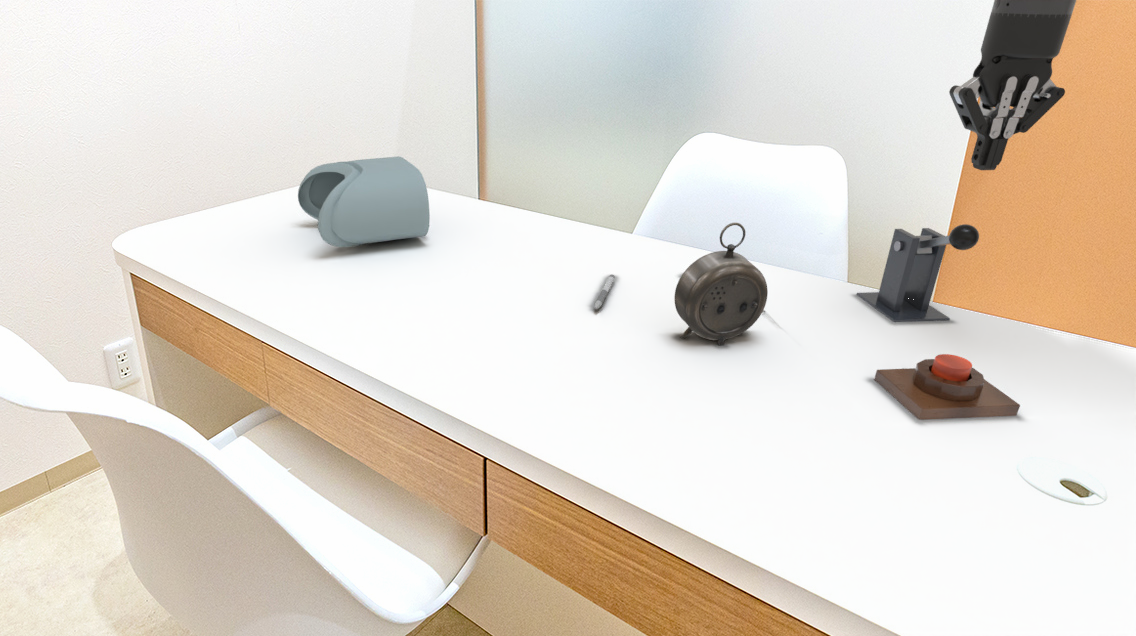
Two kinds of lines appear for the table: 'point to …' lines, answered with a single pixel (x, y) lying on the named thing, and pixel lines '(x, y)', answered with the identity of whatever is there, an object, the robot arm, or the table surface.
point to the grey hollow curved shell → (366, 201)
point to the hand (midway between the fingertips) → (983, 168)
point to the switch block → (945, 394)
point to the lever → (950, 239)
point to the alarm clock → (721, 294)
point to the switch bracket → (908, 280)
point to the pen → (604, 291)
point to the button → (951, 367)
